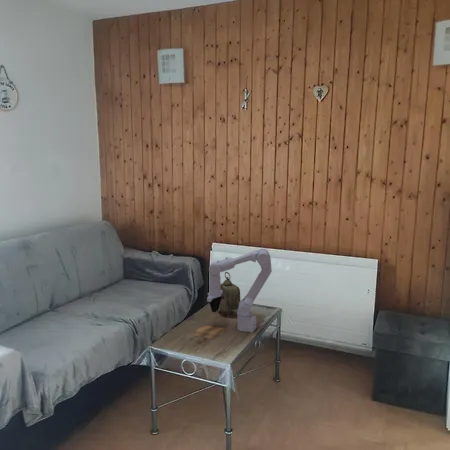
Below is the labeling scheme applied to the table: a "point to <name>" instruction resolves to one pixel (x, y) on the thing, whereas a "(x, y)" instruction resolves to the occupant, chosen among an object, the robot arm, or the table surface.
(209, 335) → the laid row
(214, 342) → the table surface
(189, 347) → the table surface
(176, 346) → the table surface
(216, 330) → the board
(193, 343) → the table surface
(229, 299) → the tabletop clock
